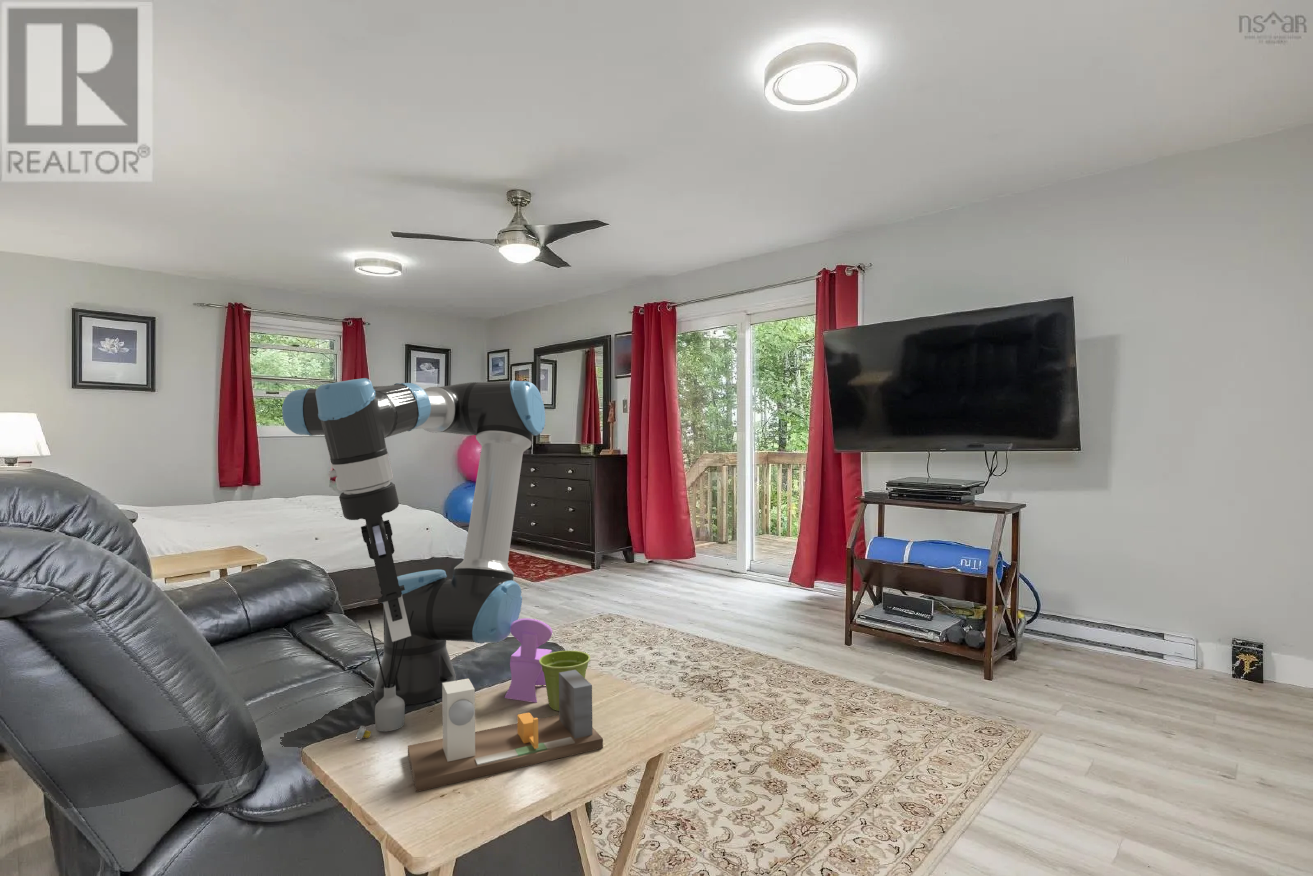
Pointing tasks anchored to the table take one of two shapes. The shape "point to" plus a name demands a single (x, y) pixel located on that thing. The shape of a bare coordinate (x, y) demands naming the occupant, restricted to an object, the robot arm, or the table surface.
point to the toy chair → (527, 658)
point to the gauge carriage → (458, 719)
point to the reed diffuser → (387, 700)
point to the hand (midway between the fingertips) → (401, 636)
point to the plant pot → (561, 670)
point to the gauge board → (514, 742)
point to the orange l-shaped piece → (528, 728)
